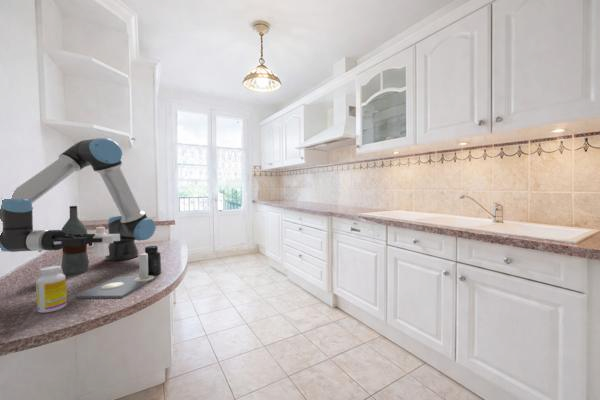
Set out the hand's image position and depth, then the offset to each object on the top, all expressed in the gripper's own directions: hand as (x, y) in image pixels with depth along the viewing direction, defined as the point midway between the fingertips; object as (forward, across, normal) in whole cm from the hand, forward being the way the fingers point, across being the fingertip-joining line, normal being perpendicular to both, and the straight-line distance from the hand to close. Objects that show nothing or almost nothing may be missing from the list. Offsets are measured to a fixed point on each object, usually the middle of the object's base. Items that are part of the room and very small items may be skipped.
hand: (116, 238), depth 99 cm
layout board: (+2, +2, -18) cm, 19 cm away
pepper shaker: (-5, 0, -7) cm, 9 cm away
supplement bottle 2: (+7, -13, -18) cm, 24 cm away
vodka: (-29, -22, -18) cm, 40 cm away
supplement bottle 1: (-9, +19, -19) cm, 28 cm away
